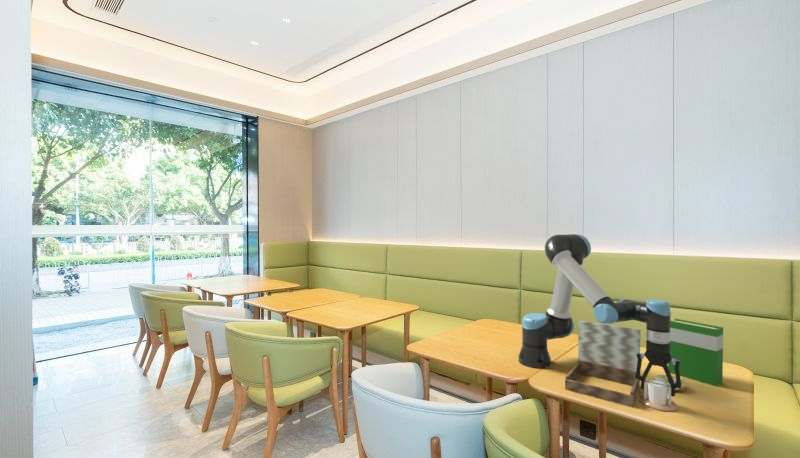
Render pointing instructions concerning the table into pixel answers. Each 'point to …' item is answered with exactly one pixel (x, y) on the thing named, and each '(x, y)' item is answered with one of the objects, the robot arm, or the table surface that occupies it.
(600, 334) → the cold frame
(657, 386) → the shot glass
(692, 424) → the table surface
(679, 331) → the hardback book
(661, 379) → the decorated donut
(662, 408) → the terracotta saucer
